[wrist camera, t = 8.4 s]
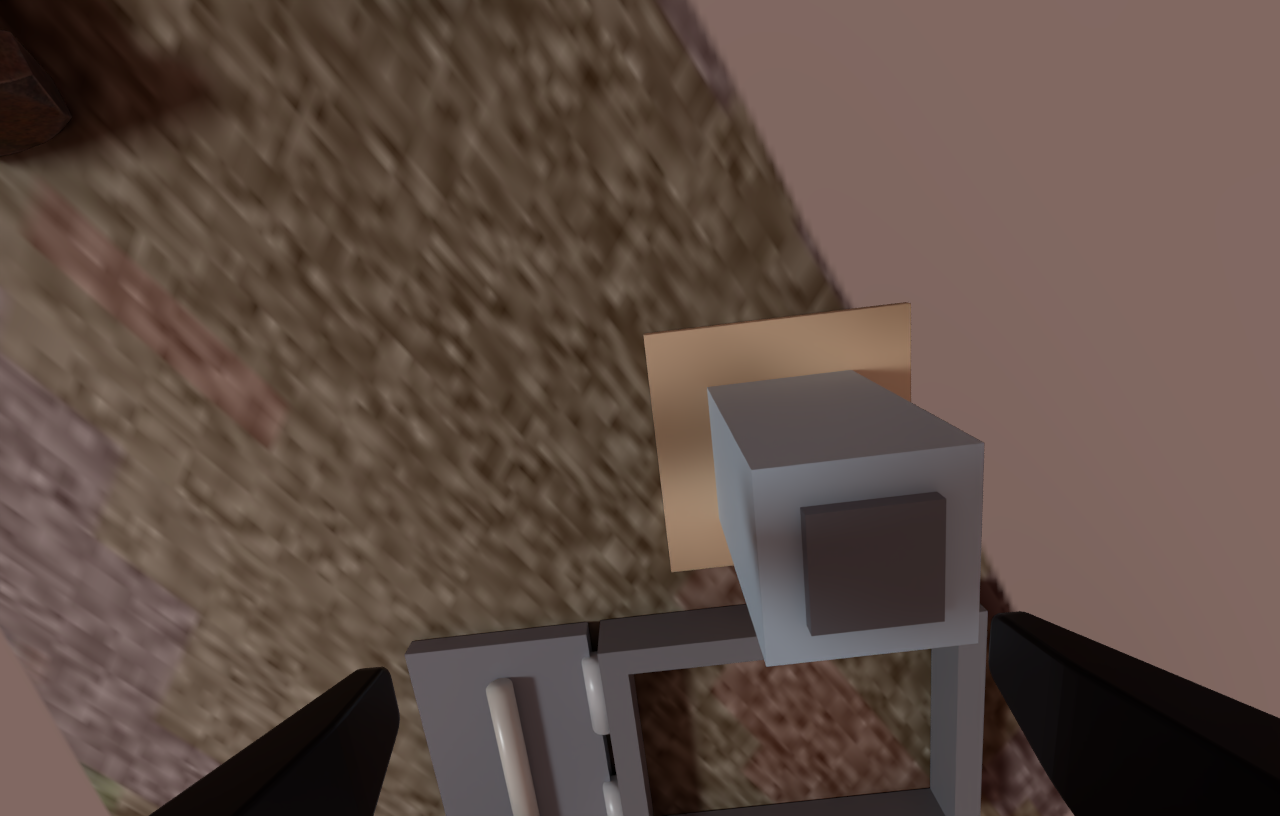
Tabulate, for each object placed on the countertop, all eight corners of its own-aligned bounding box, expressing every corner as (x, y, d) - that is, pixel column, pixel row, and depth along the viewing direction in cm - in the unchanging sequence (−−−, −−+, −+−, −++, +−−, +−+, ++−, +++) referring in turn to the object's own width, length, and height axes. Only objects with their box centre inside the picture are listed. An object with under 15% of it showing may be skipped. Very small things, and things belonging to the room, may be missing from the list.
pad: (906, 540, 23) (910, 545, 22) (670, 566, 23) (671, 572, 22) (905, 302, 20) (910, 303, 20) (643, 333, 20) (643, 335, 20)
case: (952, 804, 26) (979, 849, 24) (465, 854, 26) (452, 902, 24) (957, 580, 23) (987, 611, 21) (412, 641, 23) (392, 676, 22)
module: (855, 503, 22) (988, 654, 14) (719, 518, 22) (770, 678, 14) (851, 369, 20) (995, 448, 12) (707, 387, 21) (754, 477, 12)
